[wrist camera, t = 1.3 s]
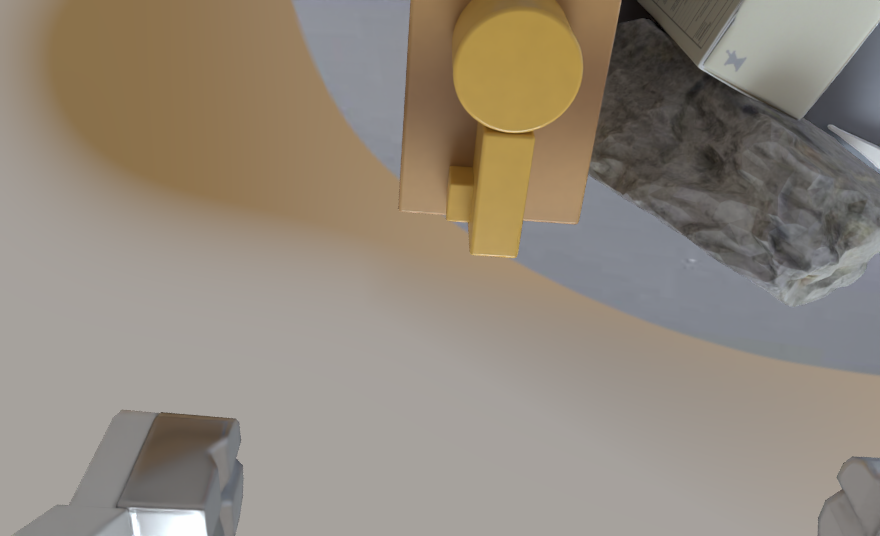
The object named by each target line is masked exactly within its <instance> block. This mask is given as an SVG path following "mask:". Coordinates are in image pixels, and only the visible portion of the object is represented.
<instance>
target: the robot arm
mask: <svg viewBox="0 0 880 536" xmlns="http://www.w3.org/2000/svg"><path fill="white" fill-rule="evenodd" d="M240 443H241V436H240V426H239V422H238V420H237V419H233V418H222V417H210V416H198V415H186V414H175V413H163V412H161V413H151V412H140V411H131V410H121V411H120V412H119V413H118V414H117V415H116V416H115V417H114V418H113V419H112V421H111V423H110V425H109V427H108V429H107V431H106V433H105V435H104V437H103V439H102V441H101V442H100V444H99V446H98V448H97V450H96V452H95V454H94V457H93V458H92V460H91V462H90V464H89V466H88V468H87V470H86V472H85V474H84V476H83V478H82V480H81V482H80V484H79V486H78V488H77V490H76V492H75V494H74V496H73V498H72V500H71V502H70V504H69V505H56V506H54V507H53V508H51V509H50V510H48V511H47V512H45V513H44V514H43V515H41V516H39V517H38V518H37V519H35V520H34V521H32V522H31V523H29V524H28V525H27V526H25V527H24V528H22V529H20V530H19V531H17V532H16V533H14V534H13V535H12V536H235V534H236V530H237V526H238V522H239V518H240V511H241V505H242V498H243V465H242V464H241V463H240V462H239V461H238V460H237V459H236V457H237V453H238V450H239V446H240ZM837 479H838V481H839V483H840V485H841V487H842V490H840V491H839V492H837V493H836V494H834V495H833V496H831V497H830V498H828V499H827V500H825V503H824V505H823V508H822V510H821V512H820V515H819V517H818V536H880V458H871V457H851V458H850V459H848V460H847V461H846V462H845V463H843V465H842V467H841V469H840V471H839V473H838V475H837Z"/></svg>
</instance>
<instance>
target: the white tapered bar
mask: <svg viewBox="0 0 880 536" xmlns="http://www.w3.org/2000/svg"><path fill="white" fill-rule="evenodd" d="M827 126H828V129H829V130H831V131H832V132H834V133H835V134H837V135H838V136H840V137H841V138H842V139H843V140H845V141H846V142H847V143H848V144H850V145H851V146H852V147H854V148H855V149H856V150H857V151H859V152H860V153H861V154H863V155H864V156H865V157H866V158H867V159H868V160H869V161H870V162H871V163H873V164H874V165H875V166H876V167H877V168H879V169H880V147H879V146H877V145H875V144H873V143H870V142H868V141H866V140H864V139H861V138H859V137H857V136H855V135H853V134H850V133H848V132H846V131H844V130H841V129H839V128H837V127H835V126H834V125H827Z"/></svg>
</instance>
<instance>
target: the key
mask: <svg viewBox="0 0 880 536" xmlns="http://www.w3.org/2000/svg"><path fill="white" fill-rule="evenodd" d="M452 70H453V83H454V87H455V91H456V94H457V96H458V99H459V101H460V102H461V104H462V106H463V107H464V108H465V110H466V111H467V112H468V113H469V114H470V115H471V116H472V117H473V118H474V119H475V120H477V121H478V123H477V132H476V141H475V150H474V159H473V167H462V166H450V167H449V175H448V186H447V196H446V220H447V221H454V222H468V231H469V249H470V253H471V254H472V255H477V256H493V257H505V258H516V257H517V255H518V250H519V244H520V237H521V231H522V224H523V218H524V211H525V205H526V198H527V191H528V185H529V178H530V172H531V165H532V159H533V152H534V145H535V135H534V130H537V129H539V128H542V127H544V126H546V125H548V124H550V123H551V122H553V121H554V120H556V119H557V118H558V117H559V116H561V115H562V114H563V113H564V112H565V111H566V110H567V109H568V107H569V106H570V105H571V103H572V102H573V101H574V99H575V97H576V95H577V93H578V91H579V88H580V85H581V81H582V77H583V56H582V51H581V48H580V45H579V42H578V40H577V38H576V36H575V34H574V32H573V30H572V28H571V25H570V23H569V21H568V19H567V17H566V15H565V13H564V11H563V9H562V8H561V6H560V5H559V4H558V3H557V2H556V1H555V0H472V1H471V2H470V3H469V4H468V5H467V6H466V7H465V8H464V10H463V11H462V13H461V14H460V16H459V18H458V20H457V22H456V25H455V28H454V31H453V37H452Z"/></svg>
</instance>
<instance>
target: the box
mask: <svg viewBox="0 0 880 536" xmlns="http://www.w3.org/2000/svg"><path fill="white" fill-rule="evenodd" d="M637 1H638V2H639V3H640V4H641V5H642V6H643V7H644V8H645V9H646V10H647V11H648V12H649V13H650V14H651V15H652V16H653V18H654V19H655V20H656V21H657V22H658V23H659V24H660V25H661V26H662V28H663V29H664V30H665V31H666V32H667V33H668V34H669V35H670V36H671V38H672V39H673V40H674V41H675V42H676V43H677V44H678V45H679V46H680V47H681V49H682V50H683V51H684V52H685V53H686V54H687V55H688V56H689V57H690V59H691V60H692V61H693V62H694V63H695V64H696V66H697V67H698V68H699V69H701V70H703V71H705V72H706V73H708V74H710V75H711V76H713V77H715V78H716V79H718V80H720V81H721V82H723V83H725V84H726V85H728V86H730V87H732V88H733V89H735V90H737V91H739V92H741V93H742V94H744V95H746V96H748V97H750V98H752V99H754V100H757V101H760V102H762V103H765V104H767V105H769V106H770V107H772V108H774V109H775V110H777V111H779V112H781V113H783V114H785V115H788V116H790V117H793V118H795V119H796V120H798V121H799V120H800V119H802V118H803V116H804V115H805V114H806V113H807V112H808V111H809V109H810V108H811V107H812V106H813V105H814V104H815V102H816V101H817V100H818V99H819V97H820V96H821V95H822V94H823V93H824V92H825V90H826V89H827V88H828V86H829V85H830V84H831V83H832V82H833V80H834V79H835V78H836V76H837V75H838V74H839V73H840V72H841V70H842V69H843V68H844V67H845V66H846V64H847V63H848V62H849V61H850V59H851V58H852V57H853V55H854V54H855V53H856V52H857V50H858V49H859V48H860V47H861V45H862V44H863V43H864V41H865V40H866V39H867V37H868V36H869V35H870V34H871V32H872V31H873V30H874V28H875V27H876V26H877V25H878V23H879V22H880V0H637Z"/></svg>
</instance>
